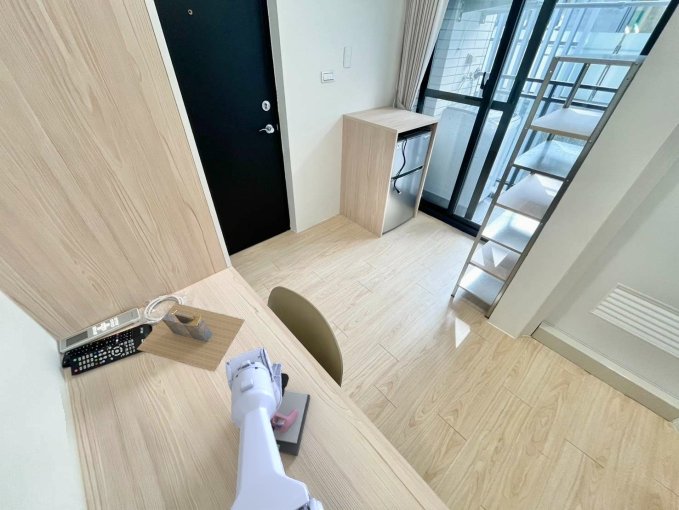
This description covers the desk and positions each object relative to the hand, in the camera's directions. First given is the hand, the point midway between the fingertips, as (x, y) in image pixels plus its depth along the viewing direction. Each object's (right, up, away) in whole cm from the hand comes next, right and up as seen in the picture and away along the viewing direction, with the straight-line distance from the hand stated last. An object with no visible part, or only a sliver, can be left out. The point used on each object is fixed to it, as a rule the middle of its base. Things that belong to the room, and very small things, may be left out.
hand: (273, 412), depth 60 cm
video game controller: (0, -2, +2) cm, 3 cm away
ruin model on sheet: (-29, +12, +20) cm, 37 cm away
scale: (0, -4, +4) cm, 5 cm away
